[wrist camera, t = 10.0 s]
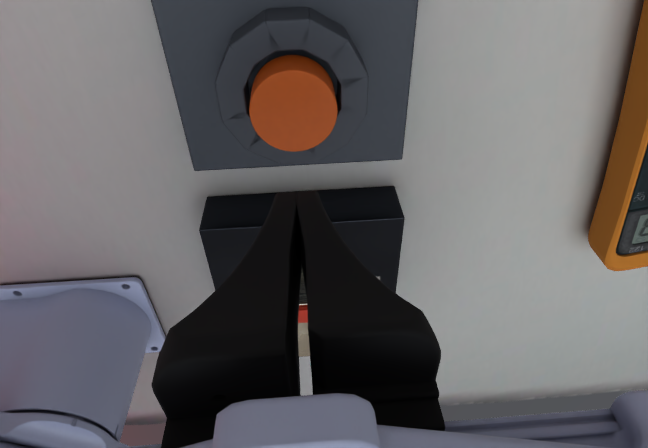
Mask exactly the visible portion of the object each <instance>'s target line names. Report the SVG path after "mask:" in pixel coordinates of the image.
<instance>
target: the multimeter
mask: <svg viewBox="0 0 648 448" xmlns="http://www.w3.org/2000/svg"><path fill="white" fill-rule="evenodd" d="M588 241H589V244H590V246H591V248H592V249H593V250H594V252H595V253H596V254H597V256H598V257H599V258H600V259H601V261H602V262H603V263H604V265H605V266H606V267H607V268H608V269H610V270H613V271H623V270H630V269H635V268H641V267H646V266H648V0H644V3H643V8H642V13H641V18H640V23H639V28H638V32H637V37H636V42H635V47H634V52H633V56H632V61H631V66H630V71H629V75H628V80H627V85H626V90H625V95H624V99H623V104H622V109H621V114H620V118H619V122H618V126H617V130H616V134H615V138H614V142H613V146H612V150H611V154H610V158H609V162H608V167H607V171H606V175H605V179H604V183H603V187H602V190H601V193H600V197H599V200H598V203H597V207H596V210H595V213H594V217H593V220H592V223H591V227H590V230H589V234H588Z"/></svg>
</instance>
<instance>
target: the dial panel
mask: <svg viewBox="0 0 648 448" xmlns="http://www.w3.org/2000/svg"><path fill="white" fill-rule="evenodd" d="M317 192H318V193H319V196H320V199H321V202H322V205H323V207H324V209H325V211H326V213H327V215H328V217H329V218H330V220H331V222H332V224H333V225H334V227H335V228H336V230H337V232H338V233H339V235H340V236H341V238H342V239H343V240H344V242H345V243H346V244H347V246H348V247H349V248H350V250H351V251H352V252H353V253H354V255H355V256H356V257H357V258H358V259H359V260H360V261H361V262H362V264H363V265H364V266H365V267H366V268H367V269H368V270H369V271H370V272H371V273H372V274H373V275H375V276H376V277H377V278H378V279H379V280H380V281H381V282H382V283H384V284H385V285H386V286H387V287H388V288H389V289H391V290H392V291H393V292H394V293H396V285H397V276H398V268H399V260H400V251H401V243H402V234H403V226H404V215H403V212H402V209H401V206H400V203H399V199H398V196H397V193H396V190H395V187H394V186H388V187H371V188H353V189H336V190H319V191H317ZM276 194H277V193H267V194H249V195H232V196H215V197H207V199H206V203H205V208H204V212H203V216H202V220H201V225H200V229H199V231H200V235H201V239H202V242H203V246H204V250H205V253H206V257H207V261H208V264H209V268H210V272H211V275H212V279H213V283H214V286H215V290H217V289H218V288H219V287H220V286H221V284H222V283H223V282H224V281H225V280H226V279H227V278H228V276H229V275H230V274H231V273H232V272H233V271H234V269H235V268H236V267H237V265H238V264H239V263H240V261H241V260H242V259H243V257H244V256H245V254H246V253H247V251H248V250H249V248H250V247H251V245H252V243H253V242H254V240H255V239H256V237H257V235H258V233H259V232H260V230H261V228H262V226H263V224H264V222H265V220H266V218H267V216H268V213H269V211H270V209H271V206H272V203H273V200H274V197H275V195H276Z"/></svg>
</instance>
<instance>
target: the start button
mask: <svg viewBox="0 0 648 448" xmlns="http://www.w3.org/2000/svg"><path fill="white" fill-rule="evenodd" d="M337 112H338V110H337V102H336V97H335V92H334V87H333V83H332V80H331V78H330V76H329V74H328V73H327V72H326V70H325V69H324V68H323V67H322V66H321V65H320V64H318V63H317V62H316V61H314V60H312V59H310V58H308V57H304V56H300V55H284V56H280V57H277V58H275V59H273V60H271V61H269V62H268V63H267V64H265V65H264V66H263V67H262V68H261V69H260V71H259V72H258V73H257V75H256V77H255V79H254V82H253V86H252V92H251V98H250V106H249V114H250V120H251V123H252V125H253V127H254V129H255V131H256V132H257V134H258V135H259V136H260V137H261V138H262V139H263V140H264V141H265V142H266V143H268V144H269V145H271V146H273V147H275V148H277V149H280V150H284V151H291V152H297V151H304V150H308V149H311V148H313V147H315V146H317V145H319V144H320V143H321V142H323V141H324V140H325V139H326V138H327V137H328V136H329V134H330V133H331V132H332V130H333V128H334V126H335V123H336V120H337Z"/></svg>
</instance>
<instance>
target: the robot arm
mask: <svg viewBox="0 0 648 448" xmlns="http://www.w3.org/2000/svg"><path fill="white" fill-rule="evenodd" d="M301 269H302V270H303V276H304V283H305V289H306V296H307V312H308V336H309V348H310V360H311V372H312V386H313V395H307V396H300V374H299V348H298V316H299V301H300V285H301ZM126 284H127V285H126ZM151 352H160V353H159V356H158V360H157V364H156V368H155V372H154V377H153V381H152V388H153V392H154V394H155V396H156V398H157V400H158V402H159V403H160V405H161V407H162V409H163V411H164V413H165V415H166V417H167V421H166V426H165V431H164V435H163V440H162V444H155V445H143V446H128V445H126V444H123V443H120V438H121V435H122V431H123V427H124V424H125V421H126V417H127V414H128V410H129V407H130V403H131V400H132V396H133V393H134V389H135V386H136V382H137V379H138V375H139V372H140V368H141V365H142V361H143V358H144V354H145V353H151ZM440 359H441V350H440V347H439V343H438V341H437V338H436V336H435V334H434V332H433V330H432V328H431V326H430V324H429V322H428V320H427V319H426V317H425V315H424V314H423V312H422V311H421V310H420V309H418V308H417V307H415V306H413V305H412V304H410V303H409V302H407V301H406V300H404V299H403V298H401V297H400V296H398V295H397V294H396V293H394V292H393V291H392V290H391V289H389V288H388V287H387V286H386V285H385V284H384V283H382V282H381V281H380V280H379V279H378V278H377V277H376V276H375V275H373V274H372V273H371V272H370V271H369V270H368V269H367V268H366V267H365V266H364V265H363V264H362V262H361V261H360V260H359V259H358V258H357V257H356V256H355V255H354V253H353V252H352V251H351V250H350V248H349V247H348V246H347V244H346V243H345V242H344V240H343V239H342V238H341V236H340V235H339V233H338V232H337V230H336V228H335V227H334V225H333V224H332V222H331V220H330V218H329V217H328V215H327V213H326V211H325V209H324V207H323V205H322V202H321V199H320V196H319V193H318V192H317V191H299V192H283V193H277V194H276V195H275V197H274V200H273V203H272V206H271V209H270V211H269V213H268V216H267V218H266V220H265V222H264V224H263V226H262V228H261V230H260V232H259V233H258V235H257V237H256V239H255V240H254V242H253V243H252V245H251V247H250V248H249V250H248V251H247V253H246V254H245V256H244V257H243V259H242V260H241V261H240V263H239V264H238V265H237V267H236V268H235V269H234V271H233V272H232V273H231V274H230V275H229V276H228V278H227V279H226V280H225V281H224V282H223V283H222V284H221V286H220V287H219V288H218V289H217V290H216V291H215V292H214V293H213V294H212V295H211V296H209V297H208V298H207V299H206V300H205V301H204V302H203V303H202V304H201V305H200V306H199V307H198V308H197V309H195V310H194V311H193V312H192V313H190V314H189V315H188V316H187V317H185V318H184V319H183V320H181V321H180V322H179V323H177V324H176V325H175V326H173V327H172V328H170V330H169V332H168V334H167V336H166V337H165V334H164V332H163V330H162V327H161V325H160V323H159V320H158V318H157V316H156V313H155V311H154V309H153V306H152V304H151V301H150V299H149V297H148V294H147V292H146V290H145V287H144V285H143V283H142V281H141V280H140V279H139V278H136V277H128V278H112V279H96V280H80V281H65V282H49V283H33V284H17V285H1V286H0V448H648V390H636V391H629V392H626V393H623V394H621V395H619V396H618V397H617V398H616V399H615V400H614V402H613V404H612V406H611V408H610V409H597V410H585V411H573V412H559V413H546V414H534V415H522V416H508V417H498V418H497V417H496V418H484V419H472V420H458V421H445V422H444V420H443V416H442V412H441V409H440V405H439V401H438V397H439V390H438V387H437V383H436V376H437V372H438V367H439V363H440Z"/></svg>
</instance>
